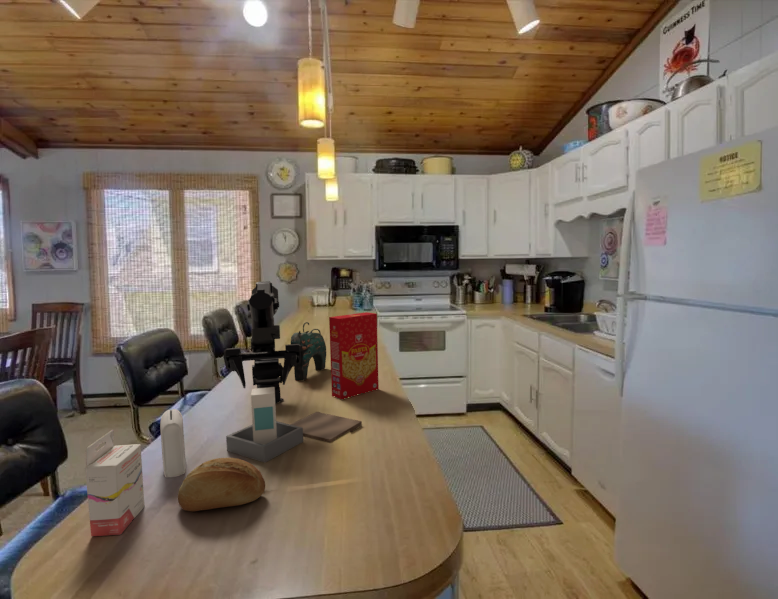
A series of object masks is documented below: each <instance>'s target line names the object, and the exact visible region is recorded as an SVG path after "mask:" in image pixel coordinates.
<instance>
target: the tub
mask: <svg viewBox="0 0 778 599" xmlns="http://www.w3.org/2000/svg"><path fill="white" fill-rule="evenodd" d="M290 424H291V423H285V422H282V421H278V420H276V427H277V439H275V440H273V441H271V442H269V443H267V444H265V445H263V444H260V443H256V442H253V424H251V425H249V426H246V427H243V428H242V429H239V430H237V431H235V432H232V433H230V434H227V435H226V436H225V439H226V440H225V441H226V451H227V452H229V453H232V454H235V455H238V456H239V455H240V456H242V457H246V458H249V459H252V460H255V461H258V462H262V463H268V462H269V461H270V460H272V459H275V458H276V457H278V456H280V455H282V454H284V453H286V452H288V451H289V450H291V449H293V448H295V447H297V446H299V445H300V444H302V443H303V442H304V436H303V427H298V426H294V425H290Z"/></svg>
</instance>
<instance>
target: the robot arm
mask: <svg viewBox="0 0 778 599" xmlns="http://www.w3.org/2000/svg"><path fill="white" fill-rule="evenodd" d="M246 305H247V306H246V308H247V311H248V313H250V318H251V327H252V328H251V339H250V348H251V349H250V350H251V351H250V352H248V351H247V352H242V349H241V347H232V348H226V349H225V350H224V351H223V356H222V358H223V362H224V366H225V369H227V370H230V371H231V372H235V373H236V374H237V376H238V377H239V380H240V382H241V385H242V388H243V389H246V386H247V384H246V383H247V382H246V378H245V368H244V362H246V361H254V362H253V363H254V364H252V365H251V372H252V373H251V374H252V385H253V386H256V389H257V388H268V387H275V405H276V404H279V403H281V402H283V401H285V399H284V398H282V397H281V387H280V384H282V385H283V386H284V385H285V384H286V382H287V379H288V377H289V374H290V373H291V370H292V369H293V368H294V367H295V366H296V364H299V363H301V346H300V345H299V344H291V343H290V344H284V345H285V350H283V349H282V350H276V340H280V339H281V327H280V326H281V325H280V324H277V325H276V324H275V317H274V316H275V315H276V314H277V312H278V310H279V308H280V301H279V290H278V289H277V288H276V287H275V286H274V285H273V281H269V280H267V281H266V280H265V281H257V282H255V287H254V288H252V290H251V295H250V298H249V299H248V300H247V304H246ZM279 359H280V360H283V365H282V362H280V360H279Z"/></svg>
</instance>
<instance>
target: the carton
mask: <svg viewBox="0 0 778 599" xmlns="http://www.w3.org/2000/svg"><path fill="white" fill-rule="evenodd" d="M250 401H251V403H250V404H251V419H252V422H251V423H252V425H253V442H256V443H260V444H263V445H265V444H267V443H269V442H271V441H273V440H275V439H277V427H276V421H277V412H276V410H277V409H276V404H275V387H268V388H257V387H256V388H251V393H250Z"/></svg>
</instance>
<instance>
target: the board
mask: <svg viewBox="0 0 778 599" xmlns="http://www.w3.org/2000/svg"><path fill="white" fill-rule="evenodd" d="M289 424H290V425H294V426H298V427H303V437H307V438H311V439H315V440H319V441H323V442H327V443H331V442H333V441H335V440H337V439H338V438H340V437H341V436H344V435H345V434H347V433H348V432H350V433H352V432H354V431H356V430H357V429H359V428H361V427H362V426H363V424H362V420H357V419H352V418H349V417H343V416H339V415H334V414H329V413H325V412H320V411H314V412H313V413H311V414H309V415H307V416H305V417H303V418H301V419H299V420H297V421H294V422H292V423H289ZM358 427H359V428H358ZM353 430H354V431H353Z"/></svg>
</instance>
